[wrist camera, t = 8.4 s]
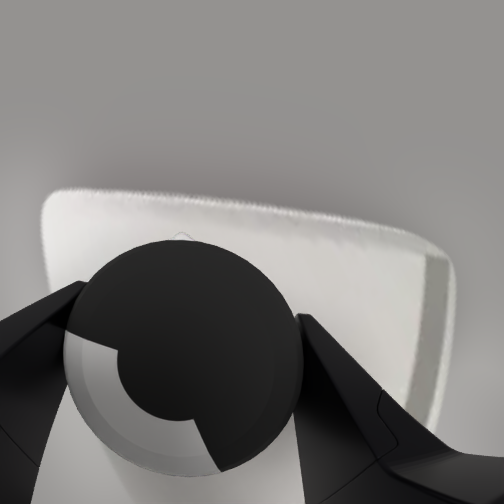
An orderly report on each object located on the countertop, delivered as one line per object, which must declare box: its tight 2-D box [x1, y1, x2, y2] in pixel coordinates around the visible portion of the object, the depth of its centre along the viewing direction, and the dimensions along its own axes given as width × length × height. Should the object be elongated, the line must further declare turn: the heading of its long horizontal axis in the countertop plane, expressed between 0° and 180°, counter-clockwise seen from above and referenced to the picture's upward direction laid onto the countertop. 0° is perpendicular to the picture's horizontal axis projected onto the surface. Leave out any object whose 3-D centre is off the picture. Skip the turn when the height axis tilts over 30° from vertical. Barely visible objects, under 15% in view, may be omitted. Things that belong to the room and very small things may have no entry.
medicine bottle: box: [63, 232, 304, 477], centre depth 12 cm, size 7×7×12 cm
